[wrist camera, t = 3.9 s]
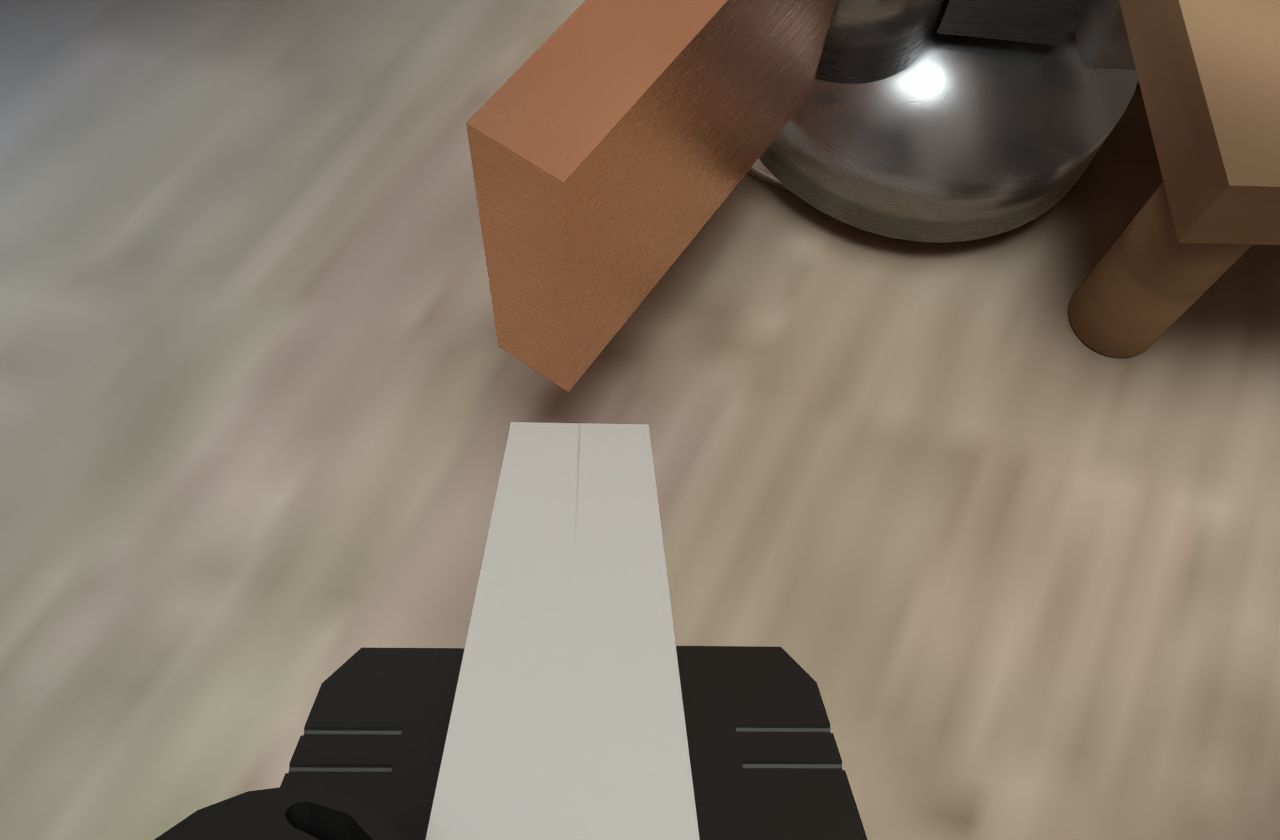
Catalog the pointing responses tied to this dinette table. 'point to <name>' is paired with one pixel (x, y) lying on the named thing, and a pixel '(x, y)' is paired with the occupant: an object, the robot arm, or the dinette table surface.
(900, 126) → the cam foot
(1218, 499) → the dinette table surface
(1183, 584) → the dinette table surface
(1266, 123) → the stand
